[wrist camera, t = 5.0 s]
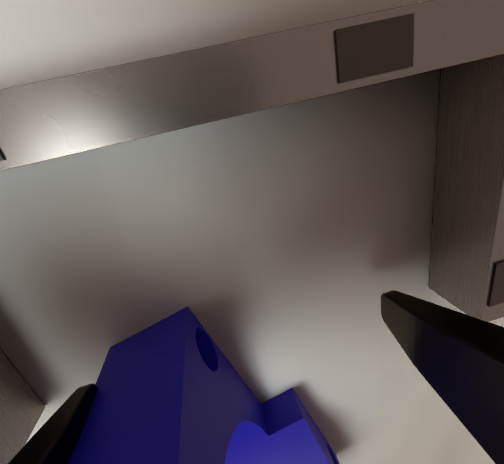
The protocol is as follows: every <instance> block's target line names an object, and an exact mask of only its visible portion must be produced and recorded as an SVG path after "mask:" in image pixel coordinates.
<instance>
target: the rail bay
mask: <svg viewBox="0 0 504 464" xmlns="http://www.w3.org/2000/svg"><path fill="white" fill-rule="evenodd" d="M440 68H441V82H440V99H439V117H438V135H437V153H436V171H435V188H434V206H433V224H432V242H431V259H430V277H429V288H430V289H432V290H433V291H434V292H436V293H437V294H439V295H440V296H442V297H443V298H444V299H446V300H447V301H449V302H450V303H452V304H453V305H454V306H456V307H457V308H459V309H460V310H461V311H463V312H464V313H466V314H467V315H469V316H472V317H475V318H477V319H480V320H483V321H486V322H489V321H492V320H495V319H498V318H501V317H504V0H432V1H427V2H422V3H417V4H413V5H408V6H403V7H398V8H393V9H388V10H384V11H379V12H374V13H369V14H364V15H359V16H355V17H350V18H345V19H340V20H335V21H330V22H326V23H321V24H316V25H311V26H306V27H301V28H297V29H292V30H287V31H282V32H277V33H272V34H268V35H263V36H258V37H253V38H248V39H243V40H239V41H234V42H229V43H224V44H219V45H214V46H210V47H205V48H200V49H195V50H190V51H185V52H181V53H176V54H171V55H166V56H161V57H156V58H152V59H147V60H142V61H137V62H132V63H127V64H123V65H118V66H113V67H108V68H103V69H98V70H94V71H89V72H84V73H79V74H74V75H69V76H65V77H60V78H55V79H50V80H45V81H40V82H35V83H31V84H26V85H21V86H16V87H11V88H6V89H2V90H0V171H1V170H5V169H10V168H14V167H18V166H23V165H27V164H31V163H35V162H40V161H44V160H48V159H53V158H57V157H61V156H66V155H70V154H74V153H79V152H83V151H87V150H91V149H96V148H100V147H104V146H109V145H113V144H117V143H122V142H126V141H130V140H135V139H139V138H143V137H147V136H152V135H156V134H160V133H165V132H169V131H173V130H178V129H182V128H186V127H191V126H195V125H199V124H203V123H208V122H212V121H216V120H221V119H225V118H229V117H234V116H238V115H242V114H247V113H251V112H255V111H259V110H264V109H268V108H272V107H277V106H281V105H285V104H290V103H294V102H298V101H302V100H307V99H311V98H315V97H320V96H324V95H328V94H333V93H337V92H341V91H346V90H350V89H354V88H358V87H363V86H367V85H371V84H376V83H380V82H384V81H389V80H393V79H397V78H402V77H406V76H410V75H414V74H419V73H423V72H427V71H432V70H436V69H440ZM44 408H45V406H44V404H43V403H42V402H41V400H40V399H39V398H38V397H37V395H36V394H35V393H34V392H33V390H32V389H31V388H30V386H29V385H28V384H27V383H26V381H25V380H24V379H23V377H22V376H21V375H20V374H19V372H18V371H17V370H16V369H15V367H14V366H13V365H12V363H11V362H10V361H9V360H8V358H7V357H6V356H5V354H4V353H3V352H2V351H1V349H0V464H8V463H9V462H10V461H11V460H12V458H13V457H14V456H15V455H16V454H17V453H18V452H19V451H20V450H21V449H22V448H23V447H24V445H25V444H26V442H27V440H28V438H29V436H30V434H31V432H32V431H33V429H34V427H35V425H36V423H37V421H38V419H39V418H40V416H41V414H42V412H43V410H44Z"/></svg>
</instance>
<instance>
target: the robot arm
mask: <svg viewBox="0 0 504 464" xmlns="http://www.w3.org/2000/svg"><path fill="white" fill-rule="evenodd" d="M381 315H382V318H383V320H384V322H385V323H386V325H387V326H388V328H389V329H390V331H391V332H392V334H393V335H394V337H395V338H396V340H397V341H398V343H399V344H400V345H401V347H402V348H403V350H404V351H405V353H406V354H407V356H408V357H409V359H410V360H411V361H412V363H413V364H414V365H415V367H416V368H417V369H418V371H419V372H420V373H421V374H422V375H423V377H424V378H425V379H426V380H427V381H428V383H429V384H430V385H431V386H432V387H433V389H434V390H435V391H436V392H437V394H438V395H439V396H440V397H441V398H442V400H443V401H444V402H445V403H446V404H447V406H448V407H449V408H450V409H451V410H452V412H453V413H454V414H455V415H456V416H457V418H458V419H459V420H460V421H461V422H462V424H463V425H464V426H465V427H466V429H467V430H468V431H469V432H470V433H471V435H472V436H473V437H474V438H475V439H476V441H477V442H478V443H479V444H480V445H481V447H482V448H483V449H484V450H485V451H486V453H487V454H488V455H489V456H490V457H491V459H492V460H493V461H494V462H495V464H504V327H501V326H498V325H495V324H492V323H489V322H486V321H483V320H480V319H477V318H475V317H472V316H469V315H466V314H463V313H460V312H457V311H454V310H451V309H448V308H445V307H442V306H439V305H436V304H433V303H431V302H428V301H425V300H422V299H419V298H416V297H413V296H410V295H407V294H404V293H401V292H398V291H395V290H393V291H389V292H386V293H383V294H382V295H381ZM97 390H98V387H97V386H96V385H95V384H88V385H85V386H82V387H79V388H78V389H77V390H76V391H75V392H74V393H73V394H72V395H71V396H70V397H69V398H68V399H67V400H66V401H65V402H64V403H63V405H62V406H61V407H60V408H59V409H58V410H57V411H56V412H55V413H54V414H53V415H52V416H51V417H50V419H49V420H48V421H47V422H46V423H45V424H44V425H43V426H42V427H41V428H40V429H39V430H38V432H37V433H36V434H35V435H34V436H33V437H32V438H31V439H30V440H29V441H28V442H27V443H26V444H25V446H24V447H23V448H22V449H21V450H20V451H19V452H18V453H17V454H16V455H15V456H14V457H13V458H12V460H11V461H10V462H9V463H8V464H68V462H69V460H70V458H71V456H72V454H73V452H74V449H75V447H76V445H77V443H78V440H79V438H80V435H81V433H82V430H83V427H84V425H85V422H86V419H87V417H88V414H89V411H90V409H91V406H92V403H93V401H94V398H95V395H96V393H97Z"/></svg>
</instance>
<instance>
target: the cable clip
mask: <svg viewBox="0 0 504 464" xmlns="http://www.w3.org/2000/svg"><path fill="white" fill-rule="evenodd" d="M96 386H97V387H98V390H97V393H96V395H95V398H94V401H93V403H92V406H91V409H90V411H89V414H88V417H87V419H86V422H85V425H84V427H83V430H82V433H81V435H80V438H79V440H78V443H77V445H76V447H75V449H74V452H73V454H72V456H71V458H70V460H69V462H68V464H339V462H338V459H337V457H336V455H335V453H334V451H333V450H332V448H331V447H330V445H329V444H328V442H327V441H326V439H325V438H324V436H323V434H322V433H321V431H320V430H319V428H318V427H317V425H316V424H315V422H314V421H313V419H312V417H311V416H310V414H309V413H308V411H307V410H306V408H305V407H304V405H303V404H302V402H301V401H300V399H299V397H298V396H297V394H296V393H295V391H294V390H293V388H291V389H289V390H287V391H285V392H283V393H282V394H280V395H278V396H276V397H274V398H272V399H270V400H268V401H266V402H264V403H263V404H261V403H260V402H259V400H258V399H257V398H256V396H255V395H254V394H253V392H252V391H251V390H250V388H249V387H248V386H247V384H246V383H245V382H244V381H243V379H242V378H241V377H240V375H239V374H238V373H237V371H236V370H235V369H234V367H233V366H232V365H231V363H230V362H229V361H228V359H227V358H226V357H225V355H224V354H223V353H222V352H221V350H220V349H219V348H218V346H217V345H216V344H215V342H214V341H213V340H212V338H211V337H210V336H209V334H208V333H207V332H206V330H205V329H204V328H203V326H202V325H201V324H200V322H199V321H198V320H197V319H196V317H195V316H194V315H193V313H192V312H191V311H190V309H189V308H188V307H186V308H184V309H182V310H180V311H178V312H176V313H174V314H173V315H171V316H169V317H167V318H165V319H163V320H161V321H159V322H158V323H156V324H154V325H152V326H150V327H148V328H146V329H144V330H142V331H141V332H139V333H137V334H135V335H133V336H131V337H129V338H127V339H126V340H124V341H122V342H120V343H118V344H116V345H114V346H112V347H110V349H109V352H108V354H107V357H106V359H105V362H104V364H103V367H102V369H101V372H100V374H99V377H98V380H97V382H96Z"/></svg>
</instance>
